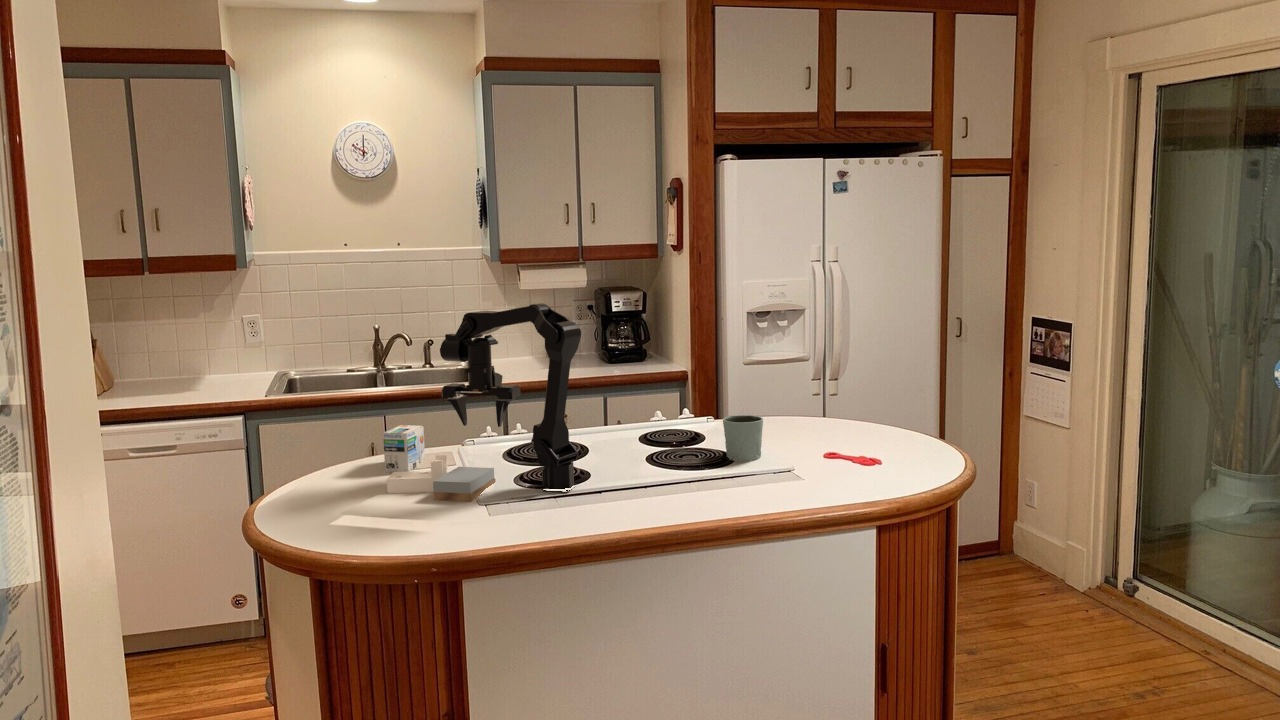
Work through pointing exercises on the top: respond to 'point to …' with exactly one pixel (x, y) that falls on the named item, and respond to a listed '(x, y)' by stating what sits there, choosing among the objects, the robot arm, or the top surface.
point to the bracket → (418, 477)
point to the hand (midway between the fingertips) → (482, 426)
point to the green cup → (743, 437)
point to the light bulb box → (403, 448)
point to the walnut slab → (462, 494)
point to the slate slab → (463, 480)
